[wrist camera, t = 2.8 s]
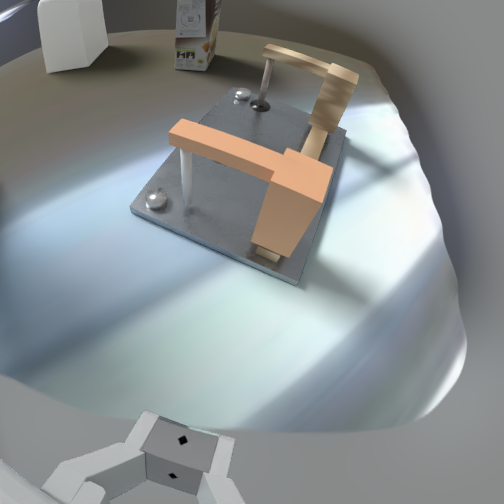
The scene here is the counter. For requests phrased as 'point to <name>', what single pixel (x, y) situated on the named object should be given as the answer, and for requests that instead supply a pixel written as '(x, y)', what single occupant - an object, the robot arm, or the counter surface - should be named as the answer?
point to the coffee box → (196, 33)
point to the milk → (71, 33)
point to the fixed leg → (326, 107)
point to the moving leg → (268, 169)
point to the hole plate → (235, 184)
